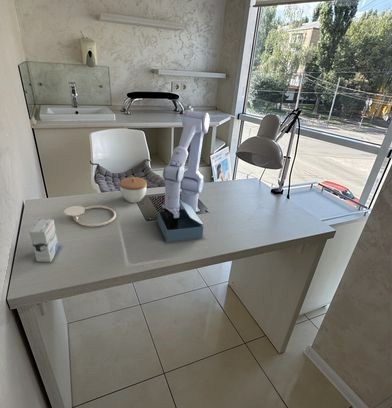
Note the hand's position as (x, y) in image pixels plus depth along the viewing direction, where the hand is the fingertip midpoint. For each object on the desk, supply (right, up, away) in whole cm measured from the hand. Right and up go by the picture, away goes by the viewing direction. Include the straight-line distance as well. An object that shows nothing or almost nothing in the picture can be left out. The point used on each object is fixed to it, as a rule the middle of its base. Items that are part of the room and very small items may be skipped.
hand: (171, 224), depth 121 cm
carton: (+3, -2, 0) cm, 4 cm away
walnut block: (0, -1, +1) cm, 1 cm away
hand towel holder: (-34, +3, +3) cm, 34 cm away
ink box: (-41, -10, -20) cm, 47 cm away
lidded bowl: (-20, +12, +21) cm, 31 cm away
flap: (+8, +5, -2) cm, 10 cm away
